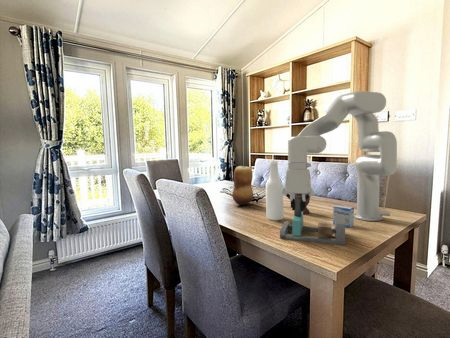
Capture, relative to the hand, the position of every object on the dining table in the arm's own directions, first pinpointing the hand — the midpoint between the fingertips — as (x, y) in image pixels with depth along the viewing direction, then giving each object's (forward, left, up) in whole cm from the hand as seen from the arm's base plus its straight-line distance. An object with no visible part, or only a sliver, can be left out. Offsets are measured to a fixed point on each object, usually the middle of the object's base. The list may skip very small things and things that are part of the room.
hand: (297, 209), depth 104 cm
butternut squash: (+38, -44, -11) cm, 59 cm away
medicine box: (-19, -18, -11) cm, 28 cm away
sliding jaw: (0, 0, -9) cm, 9 cm away
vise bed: (-6, 0, -11) cm, 12 cm away
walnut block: (-11, 0, -11) cm, 15 cm away
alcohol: (+13, -20, -11) cm, 26 cm away
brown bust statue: (0, -33, -11) cm, 35 cm away
